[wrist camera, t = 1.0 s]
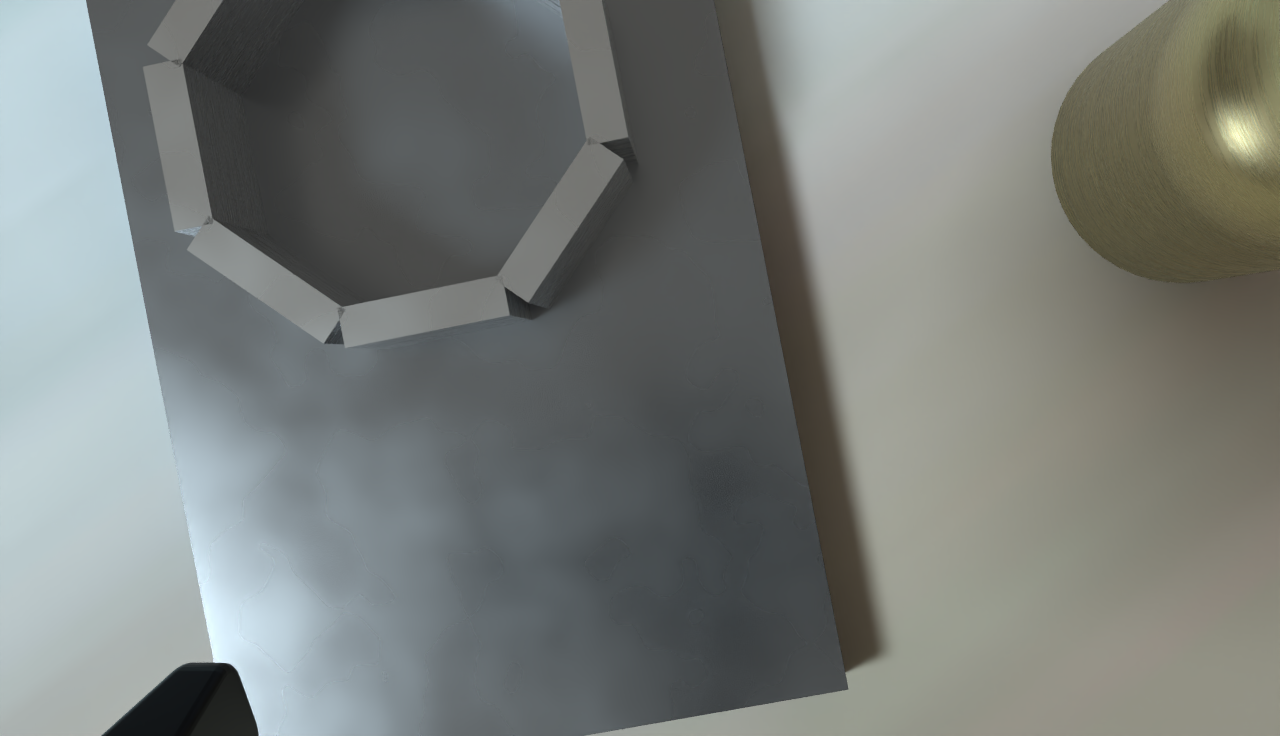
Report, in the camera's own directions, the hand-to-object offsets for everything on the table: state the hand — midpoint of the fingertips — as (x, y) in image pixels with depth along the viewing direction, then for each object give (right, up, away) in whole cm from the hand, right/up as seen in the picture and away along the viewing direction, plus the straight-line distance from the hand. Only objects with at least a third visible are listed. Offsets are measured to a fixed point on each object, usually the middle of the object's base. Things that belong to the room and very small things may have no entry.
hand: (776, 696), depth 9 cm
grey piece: (-4, +3, +14) cm, 15 cm away
